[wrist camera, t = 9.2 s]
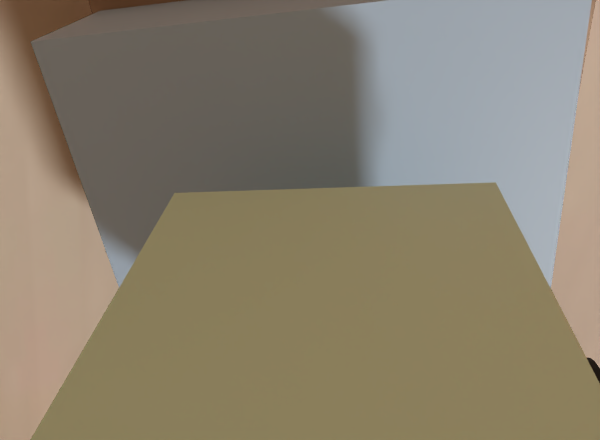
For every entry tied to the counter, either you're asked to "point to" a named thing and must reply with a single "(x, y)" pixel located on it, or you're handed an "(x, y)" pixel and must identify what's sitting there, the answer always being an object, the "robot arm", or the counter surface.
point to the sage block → (332, 325)
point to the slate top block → (317, 103)
